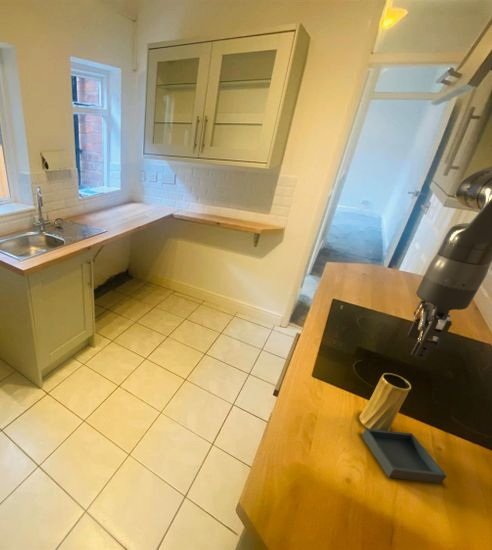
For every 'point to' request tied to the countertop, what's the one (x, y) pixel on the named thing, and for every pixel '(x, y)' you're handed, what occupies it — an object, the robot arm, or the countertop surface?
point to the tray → (403, 456)
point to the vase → (385, 402)
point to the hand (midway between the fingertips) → (415, 347)
